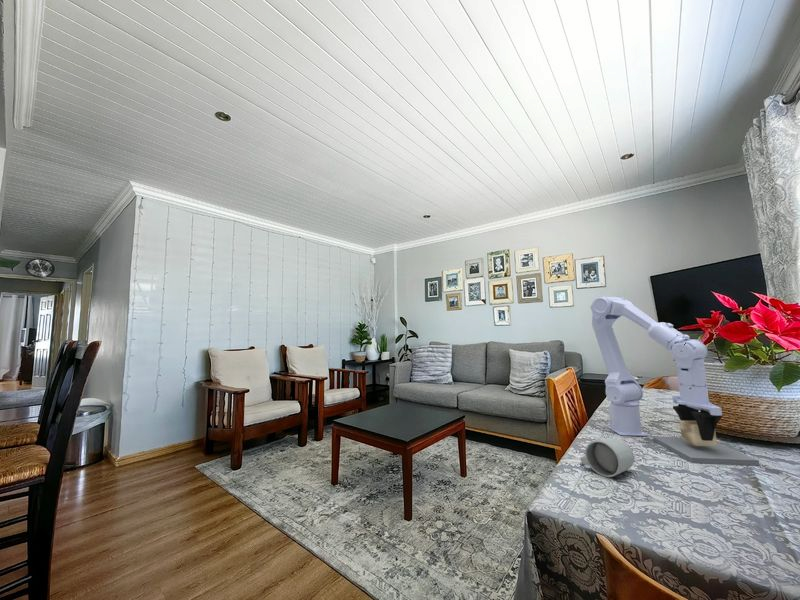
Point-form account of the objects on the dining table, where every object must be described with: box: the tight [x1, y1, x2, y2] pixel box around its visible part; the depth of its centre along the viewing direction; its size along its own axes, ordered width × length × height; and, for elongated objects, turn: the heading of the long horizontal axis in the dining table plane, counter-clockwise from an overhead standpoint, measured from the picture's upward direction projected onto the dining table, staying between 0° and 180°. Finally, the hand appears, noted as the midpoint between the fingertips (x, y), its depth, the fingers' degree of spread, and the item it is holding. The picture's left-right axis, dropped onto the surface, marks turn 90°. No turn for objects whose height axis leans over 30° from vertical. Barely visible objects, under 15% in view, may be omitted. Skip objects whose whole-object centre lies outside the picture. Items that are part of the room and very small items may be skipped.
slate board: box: [652, 436, 760, 466], centre depth 85 cm, size 16×14×1 cm
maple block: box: [679, 420, 718, 446], centre depth 85 cm, size 5×5×5 cm
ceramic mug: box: [579, 437, 635, 478], centre depth 76 cm, size 11×8×8 cm
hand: (698, 436), depth 85 cm, fingers closed on maple block, 5 cm apart
